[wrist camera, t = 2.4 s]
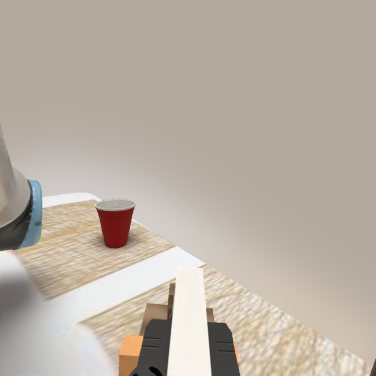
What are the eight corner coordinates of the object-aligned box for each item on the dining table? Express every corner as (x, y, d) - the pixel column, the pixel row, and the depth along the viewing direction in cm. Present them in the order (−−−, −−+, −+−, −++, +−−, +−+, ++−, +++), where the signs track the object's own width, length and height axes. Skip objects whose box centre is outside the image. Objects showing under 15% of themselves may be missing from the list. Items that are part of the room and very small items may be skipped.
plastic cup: (128, 231, 76) (128, 194, 73) (141, 247, 68) (142, 206, 65) (91, 238, 71) (90, 198, 68) (100, 256, 62) (99, 211, 59)
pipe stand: (241, 595, 19) (257, 530, 17) (82, 584, 19) (78, 518, 16) (211, 315, 46) (216, 277, 44) (146, 310, 46) (148, 272, 44)
